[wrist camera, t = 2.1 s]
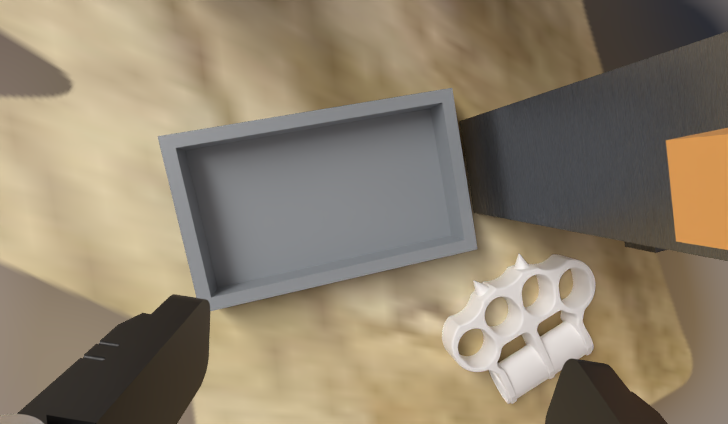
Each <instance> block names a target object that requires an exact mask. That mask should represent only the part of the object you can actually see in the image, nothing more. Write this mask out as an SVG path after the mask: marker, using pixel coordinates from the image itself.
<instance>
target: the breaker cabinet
mask: <svg viewBox="0 0 728 424" xmlns="http://www.w3.org/2000/svg"><path fill="white" fill-rule="evenodd" d="M460 126H461V133H462V139H463V145H464V152H465V158H466V164H467V171H468V177H469V183H470V190H471V196H472V202H473V209H474V213H479V214H484V215H489V216H494V217H500V218H505V219H510V220H515V221H521V222H526V223H531V224H536V225H541V226H547V227H552V228H557V229H562V230H568V231H573V232H578V233H583V234H589V235H594V236H599V237H604V238H610V239H615V240H620V241H625V247H630V248H635V249H640V250H645V251H650V252H655V253H656V252H660V251H664V250H673V251H678V252H683V253H688V254H694V255H699V256H704V257H709V258H714V259H720V260H725V261H728V250H725V249H719V248H713V247H707V246H701V245H695V244H688V243H682V242H676V235H675V226H674V216H673V206H672V196H671V186H670V176H669V167H668V157H667V147H666V140H670V139H675V138H680V137H685V136H690V135H694V134H699V133H704V132H709V131H714V130H719V129H724V128H728V32H725V33H722V34H719V35H716V36H713V37H710V38H707V39H704V40H701V41H698V42H695V43H692V44H689V45H686V46H683V47H680V48H677V49H674V50H671V51H668V52H665V53H663V54H659V55H656V56H653V57H650V58H647V59H644V60H641V61H639V62H635V63H632V64H629V65H626V66H623V67H620V68H618V69H615V70H611V71H608V72H605V73H602V74H599V75H597V76H594V77H591V78H588V79H585V80H582V81H579V82H576V83H573V84H570V85H567V86H564V87H561V88H558V89H555V90H552V91H549V92H546V93H543V94H540V95H537V96H534V97H531V98H528V99H525V100H522V101H519V102H516V103H513V104H510V105H507V106H504V107H501V108H498V109H495V110H492V111H489V112H486V113H483V114H480V115H477V116H474V117H471V118H468V119H465V120H462V121H460Z"/></svg>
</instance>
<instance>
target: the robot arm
mask: <svg viewBox="0 0 728 424" xmlns="http://www.w3.org/2000/svg"><path fill="white" fill-rule="evenodd" d="M209 332H210V303H209V301H208V300H206V299H200V298H194V297H187V296H181V295H171V296H170V297H169V298H168V299H167V300H166V301H165V302H164V303H162V304H161V305H160V306H159V307H158V308H157V309H156V310H155V311H154V312H153V313H152V314H146V313H142V314H140V315H138V316H135V317H133V318H131V319H129V320H127V321H125V322H123V323H121V324H119V325H117V326H116V327H115V328H114V329H113V330H112V331H111V332H110V333H108V334H107V335H106V336H105V337H104V338H103V339H101V340H100V343H99V344H96V345H95V346H93V347H92V348H91V349H90V350H89V351H88V352H87V353H85V354H84V357H83V358H80V359H79V360H78V361H76V362H75V363H74V364H73V365H72V366H71V367H70V368H68V369H67V370H66V371H65V372H64V373H63V374H62V375H61V376H59V377H58V378H57V379H56V380H55V381H54V382H53V383H51V384H50V385H49V386H48V387H47V388H46V389H45V390H43V391H42V392H41V393H40V394H39V395H38V396H37V397H36V398H34V399H33V400H32V401H31V402H30V403H29V404H28V405H26V406H25V407H24V408H23V409H22V410H21V411H20V412H18V413H17V414H9V415H0V424H177V423H178V421H179V420H180V418H181V416H182V415H183V413H184V411H185V410H186V408H187V407H188V405H189V404H190V402H191V401H192V399H193V397H194V396H195V394H196V393H197V391H198V389H199V388H200V386H201V384H202V382H203V379H204V376H205V373H206V370H207V365H208V357H209ZM545 424H667V422H666V421H665V420H664V419H663V418H662V416H661V415H660V414H659V413H658V412H657V411H656V410H655V409H653V408H652V407H651V406H650V405H648V404H647V403H646V402H645V401H643V400H642V399H641V398H640V397H638V396H637V395H636V394H635V393H633V392H630V390H629V389H628V388H627V387H626V385H625V384H624V383H623V382H622V380H621V379H620V378H619V377H618V375H617V374H616V373H615V371H614V370H613V369H612V368H611V367H610V366H609V365H607V364H604V363H597V362H591V361H585V360H578V359H568V360H567V361H566V362H565V363H564V365H563V368H562V370H561V373H560V376H559V379H558V382H557V385H556V388H555V391H554V394H553V397H552V400H551V403H550V406H549V408H548V411H547V415H546V422H545Z"/></svg>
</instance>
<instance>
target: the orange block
mask: <svg viewBox="0 0 728 424" xmlns="http://www.w3.org/2000/svg"><path fill="white" fill-rule="evenodd" d="M666 147H667V157H668V167H669V176H670V186H671V196H672V206H673V216H674V226H675V235H676V242H682V243H688V244H695V245H701V246H707V247H713V248H719V249H725V250H728V128H724V129H719V130H714V131H709V132H704V133H699V134H694V135H690V136H685V137H680V138H675V139H670V140H666Z"/></svg>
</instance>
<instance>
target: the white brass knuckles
mask: <svg viewBox="0 0 728 424" xmlns="http://www.w3.org/2000/svg"><path fill="white" fill-rule="evenodd" d="M568 269H570V270H571V272H572V277H573V288H572V291H571V293H570V294H569V295H568V296H567V297H566V298H564V299H562V300H561V298H560V293H559V281H560V278H561V276H562V275H563V273H564V272H565V271H567V270H568ZM534 275H536V277H537V279H538V285H539V294H538V297H537V299H536V301H535V302H534V303H533V304H532V305H530V306H528V307H524V305H523V300H522V288H523V285H524V283H525V282H526V281H527V280H528V279H529V278H530V277H531V276H534ZM473 282H474V286H475V290H474V291H473V292H472V293H471V296H470V299H469V301H468V303H467V305H466V306H465V307H464V309H462V310H461V311H460V312H459V313H457V314H455V315H452V316H449V317H448V318H447V320H446V322H445V324H444V326H443V330H442V341H443V345H444V347H445V349H446V351H447V352H448V353H449V354H450V355H451V356H452V358H453V359H454V360H455V361H456V362H457V363H458V364H459V365H460V366H461V367H463V368H464V369H466V370H468V371H472V372H483V371H486V370H489V373H490V375H491V377H492V379H493V381H494V383H495V385H496V387H497V389H498V391H499V392H500V394H501V395H502V397H503V398H504V400H505V401H506V402H507V403H508V404H509V403H512V404H513V403H514V402H516V401H517V398H519V397H520V396H522V395H523V394H525V393H526V392H528V391H530V390H531V389H533V388H534V387H536V386H537V385H539V384H541V383H542V382H544V381H545V380H547V379H548V378H549V379H552V378H553V377H555V374H556V373H558V372H559V371H561V370H562V368H563V365H564V363H565V362H566V361H567V360H568V359H579V358H581V357H583V356H584V355H589V354H590V353H592V350H593V348H594V347H593V342H592V339H591V337H590V335H589V333H588V331H587V330H586V328H585V326H584V323H583V315H584V310H585V309H586V308H587V306H588V305H589V304H590V302H591V301H592V299H593V296H594V293H595V278H594V275H593V273H592V271H591V269H590V268H589V267H588V266H587V265H586V264H585V263H583V262H582V261H580V260H577V259H573V258H570V257H566V256H563V255H558V254H552V255H551V256H550V257H549V258H548V259H546V260H545V261H543V262H541V263H538V264H527V262H526V261H525V260H524V259H523V257H522V256H521V255H520V254H518V257H517V260H516V263H515V265H512V266H509V267H507V269H506V270H505V272H504V273H503V274H502V275H501V276H499V277H498V278H496V279H494V280H491V281H483V282H482V283H480V282H477V281H474V280H473ZM498 297H503V298H504V299H505V300H506V302H507V304H508V314H507V317H506V319H505V320H504V321H503V322H502V323H501V324H499V325H497V326H488V325H487V323H486V321H485V311H486V308H487V306H488V304H489V303H490V302H491V301H492V300H494V299H495V298H498ZM560 310H561V315H560V317H561V320H562V323H561V324H559V325H558V326H556V327H554V328H553V329H551V330H550V331H548V332H546V333H545V334H543V335H542V336H539V334H538V332H537V327H538V325H539V323H540V322H542V321H544V320H545V319H547V318H548V317H550V316H552V315H553V314H555V313H556V312H558V311H560ZM476 328H477V329H481V331H482V333H483V336H484V341H483V345H482V347H481V349H480V350H479V351H478V352H477V353H476V354H474V355H471V356H462V355H460V354H459V352H458V343H459V340H460V338H461V337H462V335H463V334H464V333H465V332H467V331H468V330H471V329H476ZM519 335H522V337H523V339H524V341H525V343H526V346H524V347H523V348H521V349H519V350H518V351H516V352H515V353H513V354H512V355H510V356H508V357H507V358H505V359H504V360H502V361H500V362H499V363H497V362H498V360H499V357H500V354H501V349H502V347H503V346H504V345H505V344H507V343H508V342H510V341H511V340H513V339H515V338H516V337H518V336H519Z"/></svg>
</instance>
